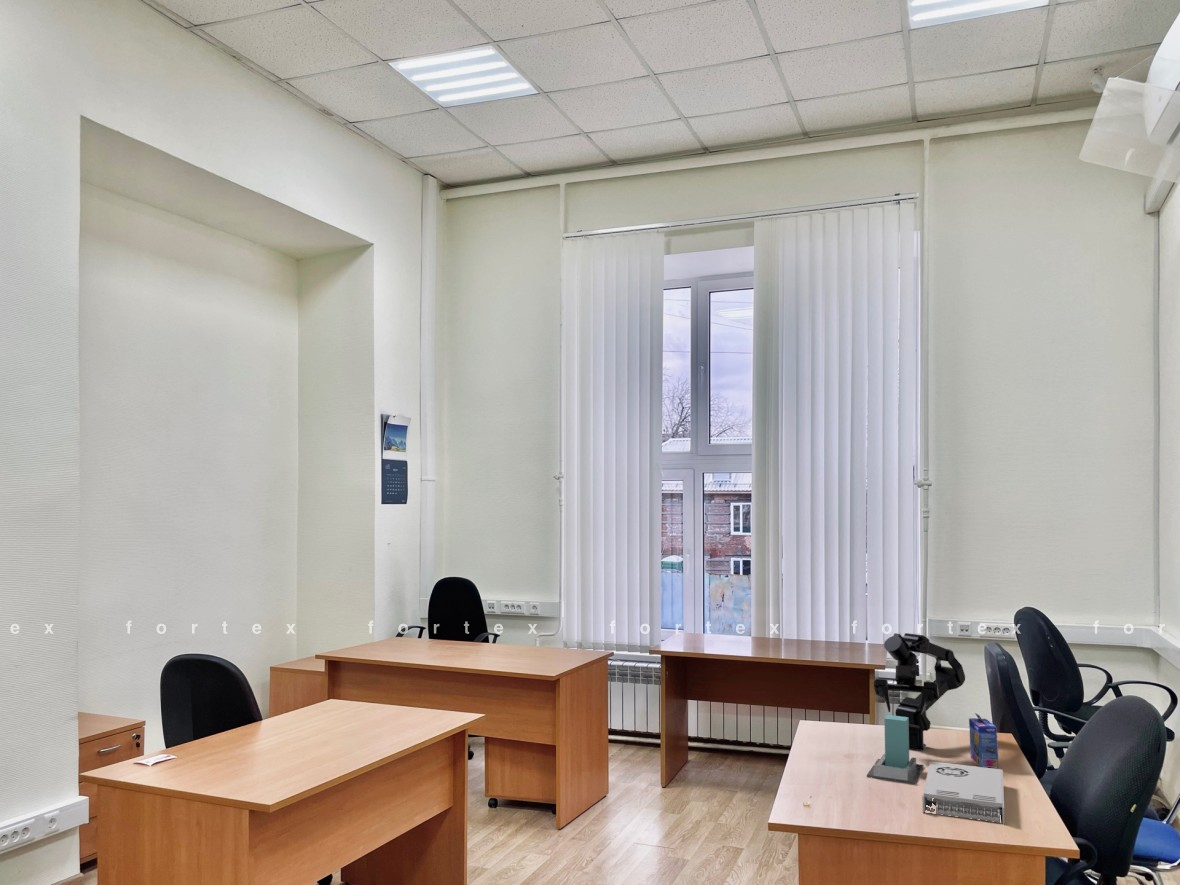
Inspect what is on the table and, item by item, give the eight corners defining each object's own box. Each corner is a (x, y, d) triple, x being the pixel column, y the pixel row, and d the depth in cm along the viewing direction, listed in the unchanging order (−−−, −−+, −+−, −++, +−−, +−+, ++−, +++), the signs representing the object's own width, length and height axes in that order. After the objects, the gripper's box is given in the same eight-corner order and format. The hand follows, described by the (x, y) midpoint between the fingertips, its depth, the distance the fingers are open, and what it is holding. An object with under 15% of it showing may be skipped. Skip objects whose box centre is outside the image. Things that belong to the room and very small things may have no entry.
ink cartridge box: (968, 758, 275) (967, 710, 276) (987, 758, 274) (986, 710, 275) (979, 767, 265) (978, 717, 266) (999, 768, 264) (997, 718, 265)
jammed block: (888, 762, 267) (887, 714, 268) (909, 765, 264) (908, 717, 265) (885, 767, 262) (884, 718, 263) (906, 770, 259) (905, 720, 260)
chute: (878, 760, 271) (877, 748, 272) (923, 766, 265) (923, 754, 266) (866, 776, 255) (866, 764, 256) (914, 783, 249) (914, 770, 250)
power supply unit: (922, 815, 226) (922, 795, 226) (930, 779, 256) (930, 761, 256) (1004, 827, 218) (1004, 806, 218) (1003, 787, 248) (1002, 769, 248)
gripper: (873, 652, 283) (870, 696, 273) (936, 656, 275) (935, 701, 265) (877, 672, 290) (874, 715, 280) (938, 676, 282) (938, 720, 272)
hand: (904, 712), depth 274 cm, fingers open, 9 cm apart
